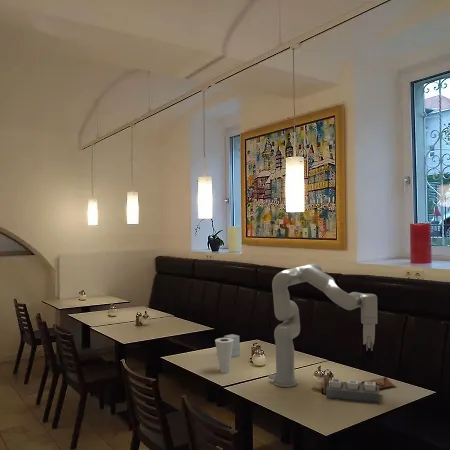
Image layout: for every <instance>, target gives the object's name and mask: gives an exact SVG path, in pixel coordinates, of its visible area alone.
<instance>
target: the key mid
mask: <svg viewBox="0 0 450 450" xmlns="http://www.w3.org/2000/svg"><path fill="white" fill-rule="evenodd" d="M346 382H347V389H356V390H358V389H359V383H360V382H359V380H353V379H347V381H346Z"/></svg>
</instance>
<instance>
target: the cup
mask: <svg viewBox="0 0 450 450" xmlns="http://www.w3.org/2000/svg"><path fill="white" fill-rule="evenodd" d="M233 342H234V340H233V339H231V338H224V337H219V338H216V339H215V340H214V343H215V349H216V353H217V360H218V365H219V370H220V373H221V374H228V373H229V372H230V370H231V369H230V368H231V367H230V366H231V360H232V358H231V355H232V349H233Z"/></svg>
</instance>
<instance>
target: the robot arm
mask: <svg viewBox="0 0 450 450" xmlns="http://www.w3.org/2000/svg"><path fill="white" fill-rule="evenodd" d="M301 283H309V284H310V285H312V286H313V287H314V288H316V289H318V290H319V291H320V292H323V293H324V294H325V296H327V297H328V299H329V300H331V301H332V302H333V303H334V304H336V305H337V306H339V307H341V308H343V310H344V309H345V310H347V311H352V310H355V309H357V308H360V322H361V324H363V328H362V339H363V340H362V342H363V343H362V344H363V345H364V346H365V345H366V346H365V347H366V349H365V359H366V360H374V344H375V339H376V338H375V336H376V325H377V324H378V296H377V295H376V294H374V293H362V292H358V291H352V292H350V293H348V292H347V291H345V290H343V289H341V288H340V287H339V286H338V285H337V283H336V280H335V279H334V278H333V277H332V276H331V275H329V274H327V273H326V272H324V271H323V269H322V267H321V265H320V264H318V263H309V264H305V265H302V266H297V267H292V268H288V269H284V270H282V271H279V272H278V273H276V275H275V276H274V277H273V279H272V281H271V284H272V285H271V288H272V296H273V309H274V316H275V318H276V319H277V320H278V321H281V322H282V323H279V324H278V325H277V326H276V327H275V328H274V332H273V337H274V345H275V373H274V374H271V373H268V376H267V378H269V380H273V385H274V386H276V387H281V388H293V387H295V386H297V385H298V380H297V379H295V346H294V342H293V339H295V338H297V337H298V336H299V335H300V332H301V322H300V321H301V319H300V309H299V307H298V305H297V303H296V302H295V301H294V300H291V298H290V296H291V295H290V292H289V289H288V287H289V286H290V287H291V286H293V285H297V284H301Z"/></svg>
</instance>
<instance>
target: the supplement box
mask: <svg viewBox="0 0 450 450" xmlns="http://www.w3.org/2000/svg"><path fill="white" fill-rule="evenodd" d="M223 338H231V339H233V340H234V342H233V349H232V355H231V359H232V358H236V357H240V356H241V349H240V346H241V345H240V343H241V342H240V335H237V334H233V333H231V334H227V335H223Z"/></svg>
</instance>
